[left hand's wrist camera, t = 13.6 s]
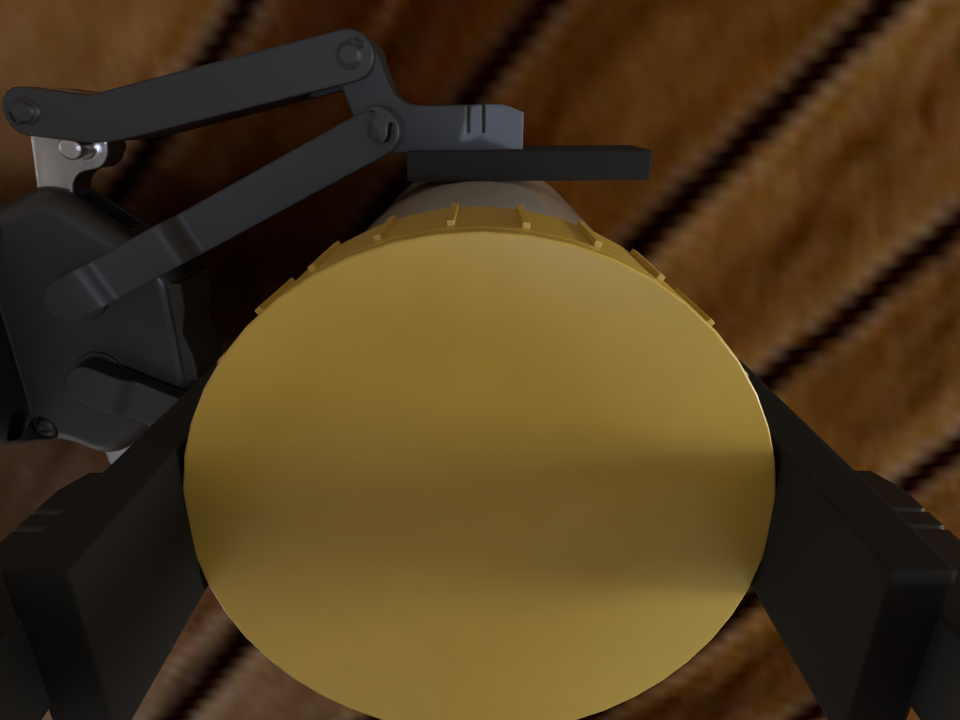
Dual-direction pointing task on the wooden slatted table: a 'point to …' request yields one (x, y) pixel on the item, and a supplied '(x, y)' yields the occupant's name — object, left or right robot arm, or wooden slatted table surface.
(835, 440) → the wooden slatted table surface
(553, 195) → the jar
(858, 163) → the wooden slatted table surface
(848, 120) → the wooden slatted table surface
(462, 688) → the lid
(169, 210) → the wooden slatted table surface
